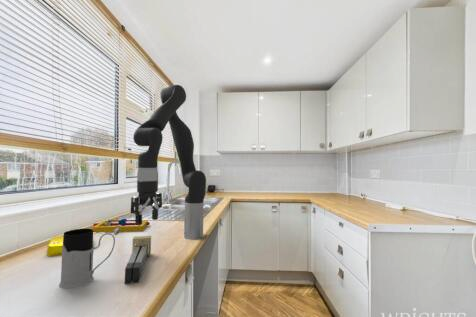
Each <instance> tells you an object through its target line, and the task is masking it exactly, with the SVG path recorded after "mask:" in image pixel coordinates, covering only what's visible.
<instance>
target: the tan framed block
mask: <svg viewBox="0 0 476 317" xmlns="http://www.w3.org/2000/svg"><path fill="white" fill-rule="evenodd" d="M145 243H149V248H148V257H149V258H150V257H151V253H152V235H141V236H133V238H132V248H131V253H132V252H133V250H134V248H135V245H136V244H145ZM148 257H147V258H148Z"/></svg>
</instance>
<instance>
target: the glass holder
mask: <svg viewBox="0 0 476 317" xmlns="http://www.w3.org/2000/svg"><path fill="white" fill-rule="evenodd" d="M106 235H108V236H111V237H112V238H113V243H112V248H111V250H110V252H109V253H108V256H106V258H104V259H103V260H102V261H101V262H100V263H99V264H97V265H96V266H95V267H94V268H93V264H94V250H95V249H98V248H100V246H101V240H102V238H103V237H105V236H106ZM62 236H63V242H62V255H61V267H60V268H61V270H60V271H61V272H60V282H59V285H58V287H59V288H60V289H61V290H62V289H63V290H71V289H77V288H81V287H84V286H87V285H89V284H90V283H92V282H93V281H94V278H95V277H94V273H95V270H97V269H98V268H99V267H100V266H101V265H102V264H103V263H104V262H106V261H107V260H108V258H110V257H111V255H112V253H113V251H114V248H115V244H116V237H115V236H114V235H113V234H112V233H111V232H109V233H102V235H101V236H100V237H99V239H98V245H97V246H95V247H94V233H93V228H78V229H77V228H75V229H70V230H67V231H65V232H64V233H63V235H62Z"/></svg>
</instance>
